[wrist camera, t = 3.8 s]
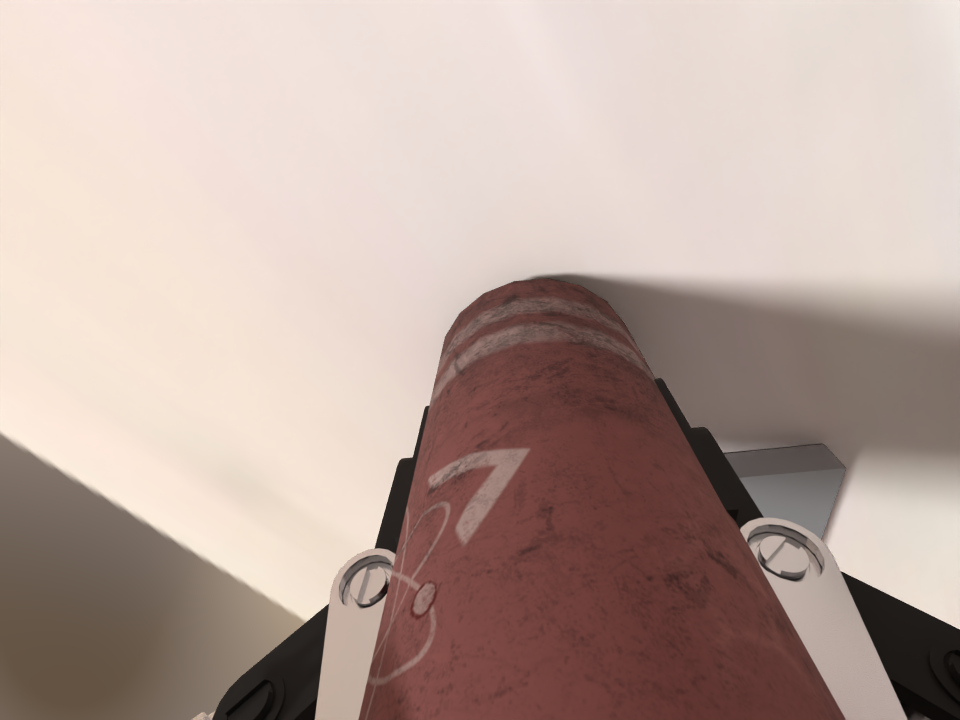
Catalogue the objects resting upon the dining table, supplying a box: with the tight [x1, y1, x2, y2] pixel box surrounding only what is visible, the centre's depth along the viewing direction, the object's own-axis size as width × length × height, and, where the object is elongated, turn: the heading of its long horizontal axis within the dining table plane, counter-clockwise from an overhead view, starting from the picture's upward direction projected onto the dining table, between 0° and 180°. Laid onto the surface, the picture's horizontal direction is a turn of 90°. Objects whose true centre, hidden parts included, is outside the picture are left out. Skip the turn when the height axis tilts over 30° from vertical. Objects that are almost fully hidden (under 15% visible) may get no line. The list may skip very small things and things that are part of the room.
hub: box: [724, 444, 846, 540], centre depth 19 cm, size 16×16×3 cm
